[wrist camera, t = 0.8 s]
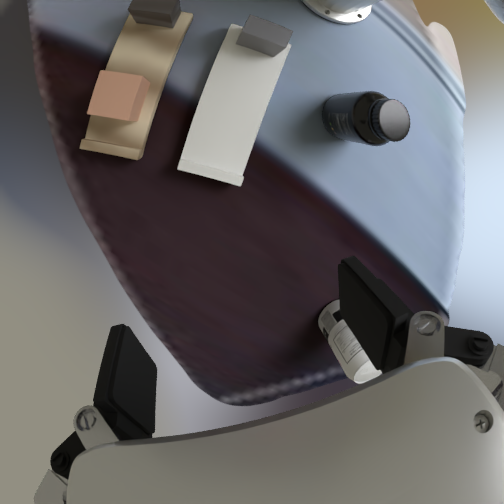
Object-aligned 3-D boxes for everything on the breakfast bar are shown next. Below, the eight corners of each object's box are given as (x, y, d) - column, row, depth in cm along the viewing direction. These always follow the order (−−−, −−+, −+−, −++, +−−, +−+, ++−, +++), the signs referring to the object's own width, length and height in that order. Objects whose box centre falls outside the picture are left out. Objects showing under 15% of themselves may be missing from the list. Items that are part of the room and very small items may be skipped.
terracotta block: (113, 76, 24) (100, 70, 20) (150, 82, 26) (142, 75, 21) (101, 114, 26) (86, 114, 22) (137, 121, 28) (127, 120, 23)
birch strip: (136, 9, 21) (126, -10, 16) (193, 18, 24) (193, -3, 18) (87, 146, 29) (66, 152, 23) (142, 157, 31) (130, 164, 25)
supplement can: (358, 294, 49) (401, 346, 36) (348, 326, 53) (382, 379, 40) (321, 298, 48) (360, 357, 35) (313, 332, 51) (344, 390, 38)
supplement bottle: (355, 145, 36) (408, 159, 26) (315, 130, 34) (363, 137, 24) (366, 104, 33) (421, 106, 23) (327, 87, 31) (378, 79, 21)
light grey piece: (229, 27, 25) (237, 8, 20) (287, 48, 28) (306, 34, 22) (178, 165, 33) (174, 175, 27) (237, 181, 35) (246, 194, 29)
